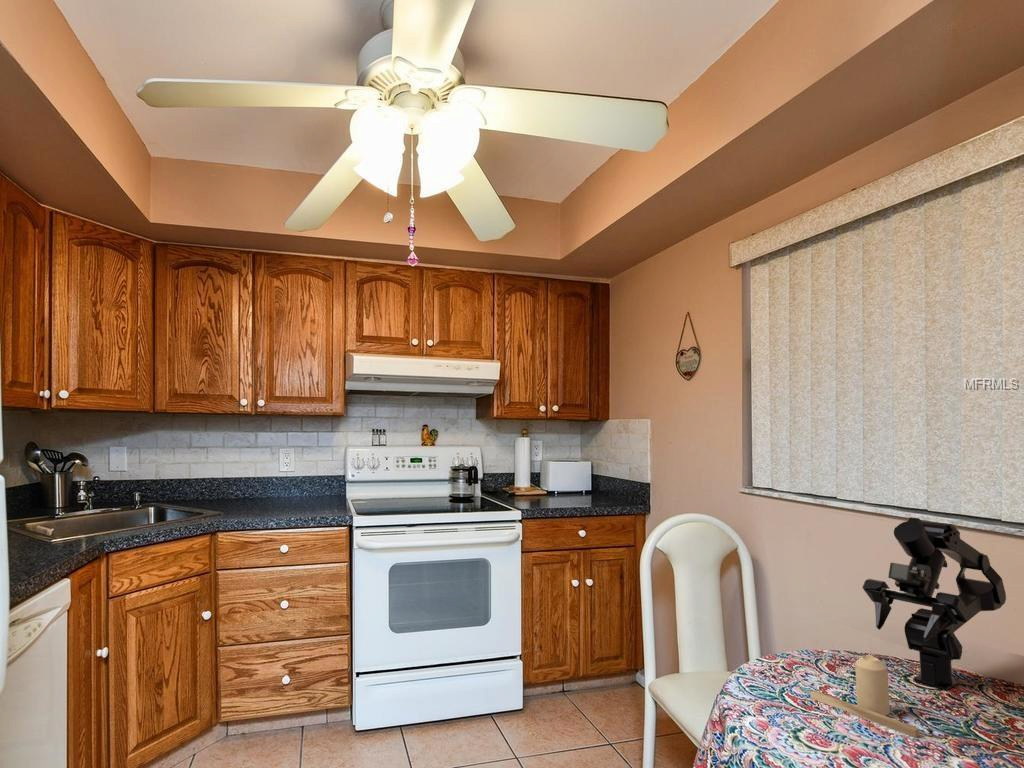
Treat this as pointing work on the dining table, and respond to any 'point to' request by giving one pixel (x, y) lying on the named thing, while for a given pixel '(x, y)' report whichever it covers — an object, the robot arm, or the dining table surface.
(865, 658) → the candle
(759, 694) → the dining table surface
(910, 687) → the dining table surface
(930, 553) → the robot arm
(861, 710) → the oak strip
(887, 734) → the dining table surface
